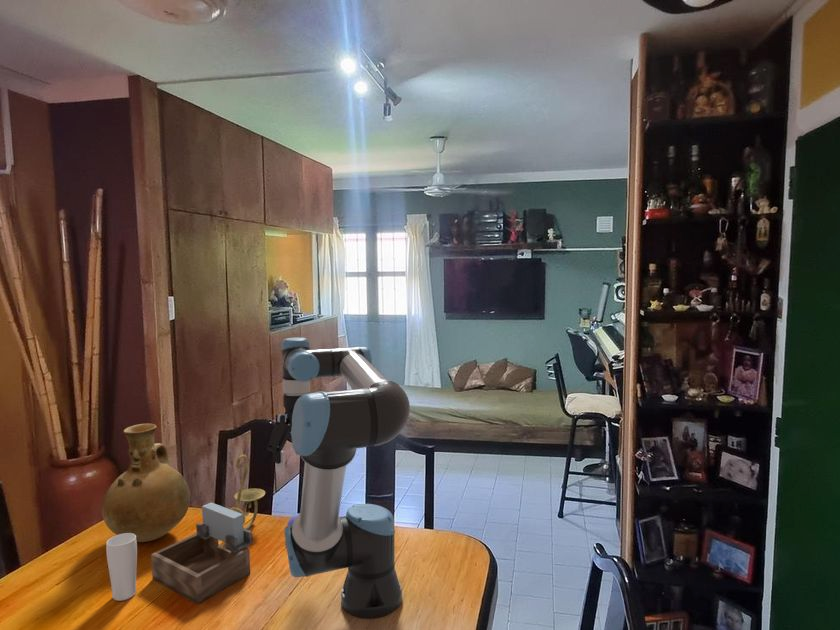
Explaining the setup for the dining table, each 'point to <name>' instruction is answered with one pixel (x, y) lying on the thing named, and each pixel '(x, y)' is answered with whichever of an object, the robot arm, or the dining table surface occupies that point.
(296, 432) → the robot arm
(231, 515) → the door
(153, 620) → the dining table surface
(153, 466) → the vase
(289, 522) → the sphere
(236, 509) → the wall sconce
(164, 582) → the box
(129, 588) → the drinking glass
